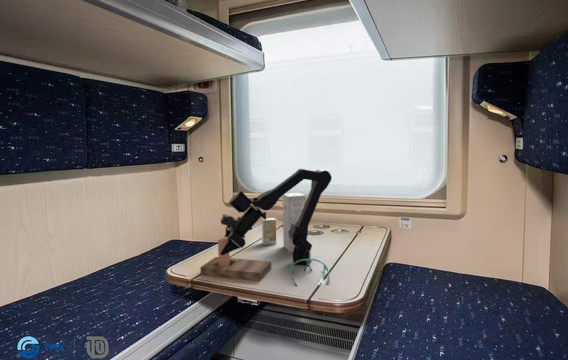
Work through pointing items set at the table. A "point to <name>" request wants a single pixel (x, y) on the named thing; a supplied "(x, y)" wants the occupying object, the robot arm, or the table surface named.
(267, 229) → the skincare box
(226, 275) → the wooden peg hole board
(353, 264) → the table surface
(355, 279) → the table surface
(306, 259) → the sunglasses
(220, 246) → the terracotta peg block
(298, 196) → the box
